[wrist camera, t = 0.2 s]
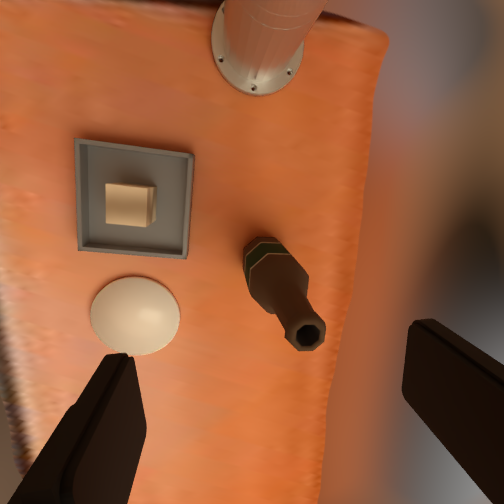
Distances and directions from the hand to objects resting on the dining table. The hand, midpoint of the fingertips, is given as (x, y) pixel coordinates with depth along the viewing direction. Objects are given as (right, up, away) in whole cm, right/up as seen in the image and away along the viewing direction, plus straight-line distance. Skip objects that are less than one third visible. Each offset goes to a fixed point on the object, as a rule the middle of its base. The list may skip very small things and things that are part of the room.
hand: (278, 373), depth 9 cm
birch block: (-18, +12, +32) cm, 38 cm away
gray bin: (-18, +12, +33) cm, 39 cm away
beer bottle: (+1, +3, +38) cm, 38 cm away
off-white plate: (-20, -7, +37) cm, 43 cm away
